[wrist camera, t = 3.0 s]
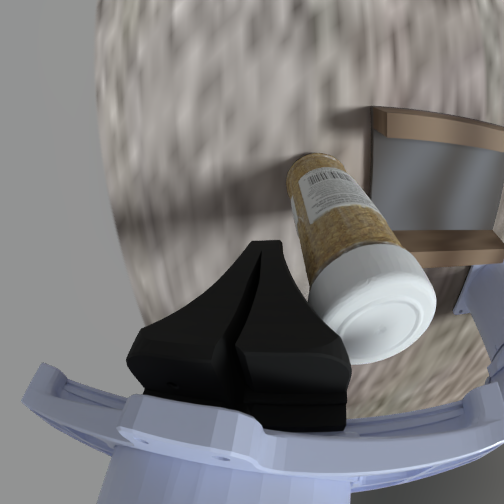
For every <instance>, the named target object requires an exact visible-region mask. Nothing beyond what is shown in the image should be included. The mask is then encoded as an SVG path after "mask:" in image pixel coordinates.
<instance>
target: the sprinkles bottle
mask: <svg viewBox="0 0 504 504" xmlns="http://www.w3.org/2000/svg"><path fill="white" fill-rule="evenodd" d="M286 185H287V193H288V195H289V197H290V199H291V207H292V212H293V217H294V222H295V226H296V230H297V234H298V237H299V239H300V244H301V249H302V253H303V258H304V263H305V267H306V273H307V277H308V281H309V286H310V290H309V296H308V303H309V305H310V306H311V307H312V308H313V310H314V311H315V312H316V313H317V314H318V316H319V317H320V318H321V319H322V320H323V321H324V322H325V323H326V324H327V325H328V326H329V327H330V328H331V329H332V330H333V331H334V332H335V333H337V334H338V335H339V336H340V337H341V339H342V341H343V344H344V346H345V348H346V351H347V353H348V356H349V360H350V364H367V363H373V362H376V361H380V360H383V359H386V358H389V357H391V356H393V355H395V354H397V353H399V352H401V351H403V350H404V349H406V348H407V347H409V346H410V345H411V344H412V343H414V342H415V341H416V340H417V339H418V338H419V337H420V336H421V335H422V334H423V333H424V331H425V330H426V329H427V328H428V326H429V324H430V323H431V321H432V319H433V316H434V313H435V310H436V295H435V291H434V289H433V286H432V284H431V283H430V281H429V279H428V277H427V276H426V274H425V272H424V270H423V269H422V267H421V266H420V264H419V263H418V261H417V260H416V258H415V257H414V256H413V255H412V254H411V253H410V252H408V251H407V250H406V249H405V248H404V247H402V246H401V244H400V242H399V241H398V239H397V238H396V236H395V235H394V233H393V232H392V230H391V229H390V228H389V226H388V224H387V222H386V220H385V218H384V217H383V216H382V214H381V213H380V212H379V210H378V209H377V207H376V206H375V205H374V204H373V202H372V201H371V200H370V199H369V197H368V196H367V195H366V193H365V192H364V191H363V190H362V188H361V187H360V186H359V185H358V184H357V182H356V181H355V180H354V179H353V178H352V177H351V176H350V175H349V174H348V173H347V172H346V170H345V169H344V166H343V165H342V164H341V163H340V162H339V161H338V160H337V159H336V158H334V157H332V156H330V155H327V154H323V153H319V154H318V153H313V154H309V155H306V156H303V157H302V158H300V159H299V160H298V161H296V162H295V163H294V165H293V166H292V167H291V169H290V170H289V172H288V174H287V180H286Z"/></svg>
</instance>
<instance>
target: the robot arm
mask: <svg viewBox="0 0 504 504" xmlns="http://www.w3.org/2000/svg"><path fill="white" fill-rule="evenodd" d="M453 313H454V315H459V314H466V313H471V315H472V317H473V319H474V322H475V324H476V326H477V328H478V330H479V333H480V335H481V337H482V340H483V342H484V345H485V347H486V350H487V352H488V355H489V357H490V360H491V364H490V365H489V366H488V367H487V369H488V372H489V375H490V376H489V377H487V379H486V381H485V385H483V386H480V387H477V388H475V389H473V390H471V391H470V392H468V393H467V394H466V395H465V397H464V398H463V399H462V400H460V401H457V402H453V403H449V404H445V405H440V406H436V407H431V408H427V409H422V410H416V411H411V412H405V413H399V414H392V415H384V416H376V417H367V418H356V419H346V403H347V388H348V385H349V382H350V379H351V374H352V369H351V364H350V360H349V356H348V353H347V351H346V348H345V346H344V344H343V341H342V339H341V337H340V336H339V335H338V334H337V333H335V332H334V331H333V330H332V329H331V328H330V327H329V326H328V325H327V324H326V323H325V322H324V321H323V320H322V319H321V318H320V317H319V316H318V314H317V313H316V312H315V311H314V310H313V308H312V307H311V306H310V305H309V303H308V302H307V301H306V299H305V298H304V296H303V295H302V293H301V292H300V290H299V289H298V287H297V285H296V283H295V281H294V280H293V278H292V276H291V273H290V271H289V269H288V266H287V264H286V261H285V258H284V255H283V246H282V242H281V241H280V240H266V241H251V242H250V244H249V245H248V246H247V247H246V249H245V250H244V251H243V252H242V254H241V255H240V256H239V257H238V259H237V260H236V261H235V262H234V263H233V265H232V266H231V267H230V268H229V269H228V270H227V271H226V272H225V273H224V274H223V275H222V277H221V278H220V279H219V280H218V281H217V282H216V283H214V284H213V285H212V286H211V287H210V288H209V289H208V290H206V291H205V292H204V293H203V294H202V295H200V296H199V297H197V298H196V299H195V300H193V301H192V302H190V303H189V304H187V305H186V306H185V307H183V308H181V309H180V310H178V311H176V312H175V313H173V314H171V315H169V316H168V317H166V318H164V319H162V320H160V321H157V322H155V323H153V324H151V325H149V326H147V327H144V328H142V329H141V330H140V331H139V333H138V335H137V337H136V339H135V341H134V343H133V345H132V347H131V349H130V351H129V354H128V356H127V359H126V362H127V366H128V367H129V369H130V371H131V372H132V373H133V375H134V376H135V377H136V379H137V380H138V381H139V382H140V383H141V385H142V386H143V387H144V388H145V390H144V392H143V395H142V394H133V395H131V396H130V397H128V398H125V397H122V396H118V395H115V394H111V393H108V392H105V391H102V390H98V389H95V388H92V387H89V386H86V385H83V384H81V383H78V382H75V381H72V380H70V379H67V377H66V376H65V375H64V374H63V372H61V371H60V370H59V369H58V368H56V367H53V366H51V365H48V364H46V363H41V365H40V366H39V368H38V370H37V372H36V373H35V375H34V377H33V379H32V381H31V382H30V384H29V386H28V388H27V390H26V392H25V394H24V396H23V398H22V400H21V401H22V403H23V404H24V405H25V406H26V407H28V408H29V409H30V410H31V411H33V412H34V413H35V414H36V415H38V416H39V417H40V418H42V419H43V420H44V421H46V422H47V423H48V424H50V425H51V426H53V427H54V428H56V429H58V430H59V431H61V432H63V433H65V434H67V435H69V436H70V437H72V438H74V439H76V440H78V441H80V442H82V443H84V444H86V445H88V446H90V447H92V448H94V449H96V450H98V451H100V452H102V453H105V454H107V455H109V456H111V457H112V458H111V461H110V464H109V467H108V470H107V473H106V476H105V479H104V482H103V485H102V488H101V491H100V494H99V497H98V501H97V504H350V493H352V492H360V491H367V490H373V489H378V488H383V487H389V486H394V485H398V484H402V483H407V482H410V481H414V480H418V479H422V478H425V477H429V476H432V475H435V474H438V473H441V472H445V471H447V470H451V469H453V468H456V467H459V466H462V465H465V464H467V463H470V462H472V461H475V460H477V459H479V458H481V457H482V456H484V455H486V454H487V453H489V452H491V451H492V450H494V449H496V448H497V447H499V446H500V445H502V444H504V261H503V263H498V264H483V265H471V268H470V271H469V274H468V276H467V279H466V281H465V284H464V286H463V289H462V291H461V294H460V296H459V298H458V301H457V303H456V305H455V307H454V309H453Z"/></svg>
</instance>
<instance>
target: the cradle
mask: <svg viewBox="0 0 504 504" xmlns="http://www.w3.org/2000/svg"><path fill="white" fill-rule="evenodd" d="M503 184H504V127H503V126H499V125H496V124H492V123H488V122H483V121H479V120H475V119H470V118H465V117H460V116H455V115H449V114H443V113H437V112H430V111H422V110H414V109H405V108H394V107H381V106H371V177H370V197H369V199H370V200H371V201H372V202H373V204H374V205H375V206H376V207H377V209H378V210H379V212H380V213H381V214H382V216H383V217H384V218H385V220H386V222H387V224H388V226H389V228H390V229H391V230H392V232H393V233H394V235H395V236H396V238H397V239H398V241H399V242H400V244H401V246H402V247H404V248H405V249H406V250H407V251H408V252H410V253H411V254H412V255H413V256H414V257H415V258H416V260H417V261H418V263H419V264H420V266H421V267H422V268H434V267H452V266H468V265H483V264H498V263H503V261H504V243H503V242H502V241H501V239H500V238H499V237H498V236H497V235H496V234H495V233H494V231H493V230H492V229H493V226H494V222H495V219H496V215H497V211H498V207H499V203H500V199H501V194H502V189H503Z"/></svg>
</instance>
